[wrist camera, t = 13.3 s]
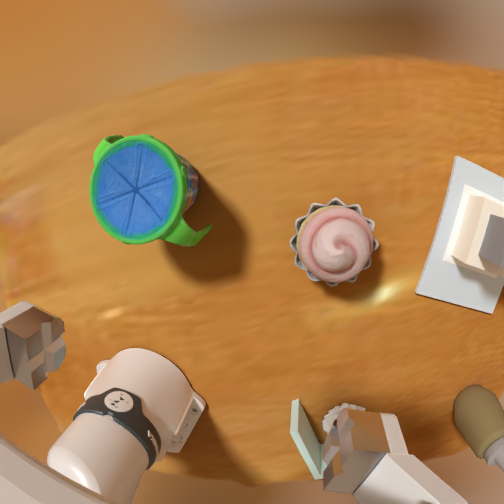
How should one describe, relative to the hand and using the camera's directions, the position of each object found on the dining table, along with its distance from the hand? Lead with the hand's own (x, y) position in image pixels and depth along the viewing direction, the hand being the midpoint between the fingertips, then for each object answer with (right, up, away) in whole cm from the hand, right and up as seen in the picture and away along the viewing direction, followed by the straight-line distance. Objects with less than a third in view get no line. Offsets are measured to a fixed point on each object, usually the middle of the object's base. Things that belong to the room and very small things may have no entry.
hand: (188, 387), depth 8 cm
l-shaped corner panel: (+15, -21, +36) cm, 45 cm away
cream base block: (+31, +6, +26) cm, 41 cm away
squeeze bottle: (+37, -20, +33) cm, 54 cm away
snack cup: (-8, +12, +31) cm, 34 cm away
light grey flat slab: (+31, +5, +27) cm, 41 cm away
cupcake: (+11, +6, +30) cm, 32 cm away
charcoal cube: (+31, +5, +22) cm, 38 cm away
